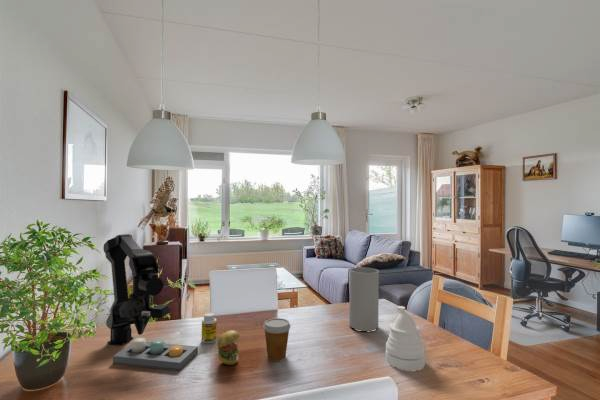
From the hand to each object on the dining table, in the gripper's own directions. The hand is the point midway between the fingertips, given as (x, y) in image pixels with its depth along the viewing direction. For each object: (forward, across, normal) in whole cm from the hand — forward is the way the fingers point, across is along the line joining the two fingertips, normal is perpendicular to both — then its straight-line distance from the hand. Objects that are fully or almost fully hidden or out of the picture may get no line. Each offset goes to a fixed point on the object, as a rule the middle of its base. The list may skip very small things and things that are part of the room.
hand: (140, 334), depth 111 cm
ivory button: (+5, 0, 0) cm, 5 cm away
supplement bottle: (+8, +18, +16) cm, 26 cm away
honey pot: (+7, +91, +12) cm, 92 cm away
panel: (+8, +7, 0) cm, 10 cm away
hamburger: (+8, +32, +1) cm, 33 cm away
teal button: (+5, +7, 0) cm, 8 cm away
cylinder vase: (+7, +78, +42) cm, 89 cm away
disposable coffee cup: (+7, +47, +8) cm, 48 cm away
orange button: (+7, +14, 0) cm, 15 cm away
